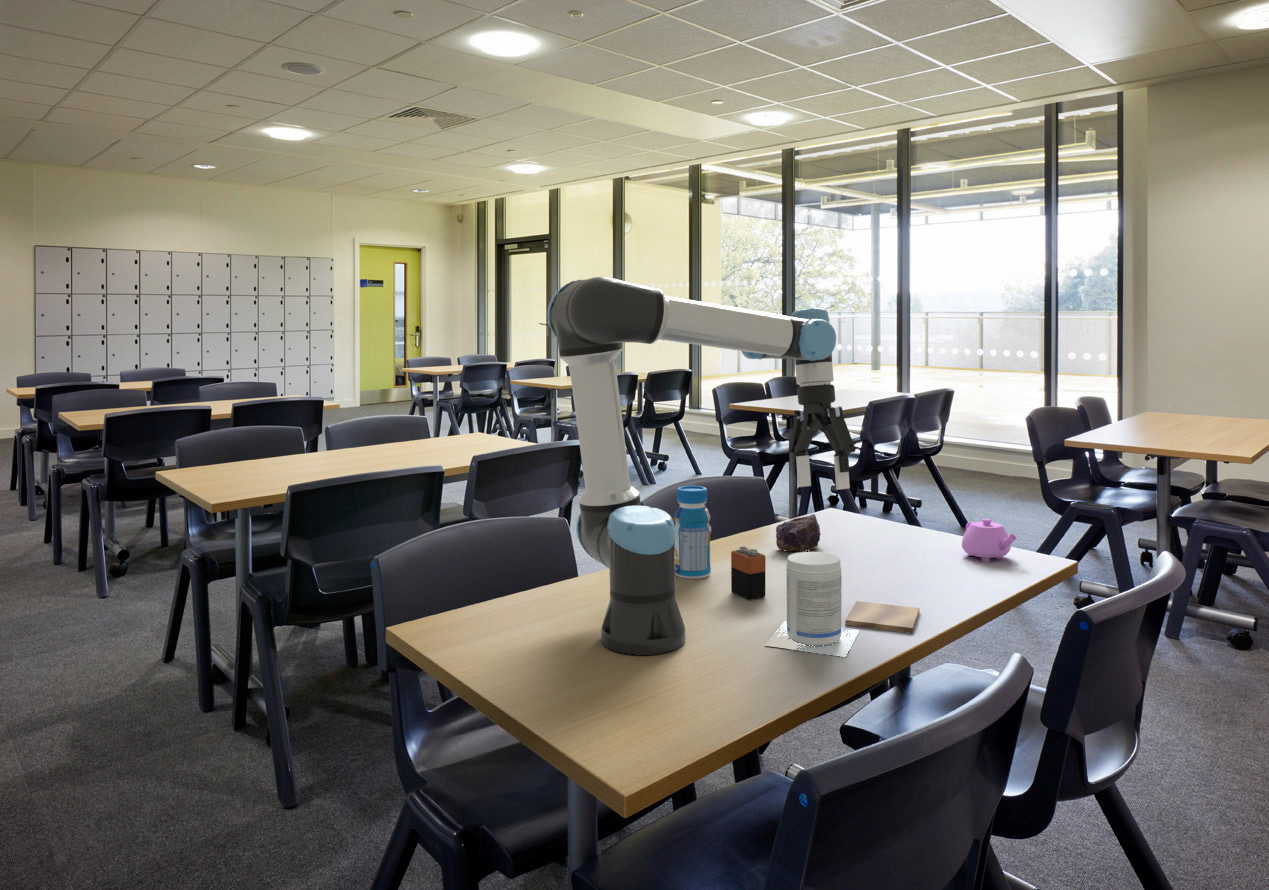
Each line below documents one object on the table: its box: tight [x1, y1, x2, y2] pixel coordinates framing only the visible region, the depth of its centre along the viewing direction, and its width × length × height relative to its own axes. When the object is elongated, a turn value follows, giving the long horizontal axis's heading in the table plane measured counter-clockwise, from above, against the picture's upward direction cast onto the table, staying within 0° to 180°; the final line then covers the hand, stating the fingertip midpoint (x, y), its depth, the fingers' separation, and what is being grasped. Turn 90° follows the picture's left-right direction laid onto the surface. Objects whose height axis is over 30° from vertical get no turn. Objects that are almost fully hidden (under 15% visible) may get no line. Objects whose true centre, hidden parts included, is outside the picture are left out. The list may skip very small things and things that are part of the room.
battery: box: [730, 546, 766, 601], centre depth 177 cm, size 4×7×10 cm, turn 28°
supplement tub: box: [785, 551, 842, 646], centre depth 151 cm, size 10×10×15 cm
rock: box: [775, 513, 821, 552], centre depth 212 cm, size 12×9×10 cm
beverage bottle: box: [673, 485, 712, 580], centre depth 192 cm, size 8×8×20 cm
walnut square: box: [844, 600, 920, 634], centre depth 162 cm, size 12×12×1 cm
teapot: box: [961, 518, 1017, 562], centre depth 202 cm, size 10×15×9 cm
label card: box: [770, 620, 861, 658], centre depth 152 cm, size 14×14×1 cm
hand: (823, 487), depth 175 cm, fingers open, 13 cm apart
